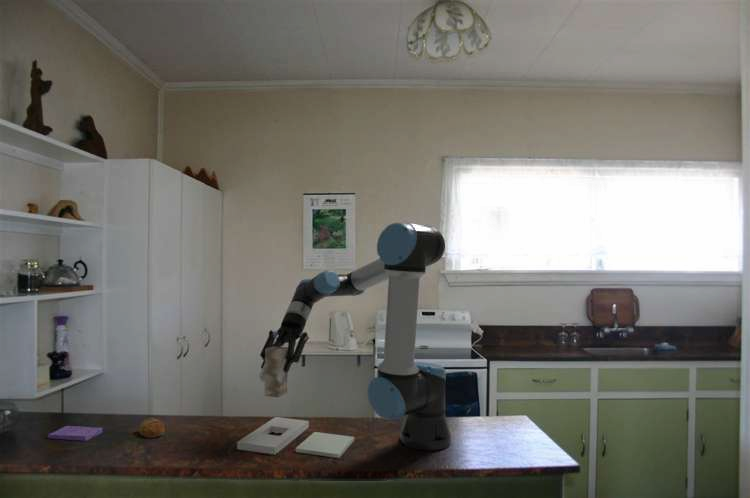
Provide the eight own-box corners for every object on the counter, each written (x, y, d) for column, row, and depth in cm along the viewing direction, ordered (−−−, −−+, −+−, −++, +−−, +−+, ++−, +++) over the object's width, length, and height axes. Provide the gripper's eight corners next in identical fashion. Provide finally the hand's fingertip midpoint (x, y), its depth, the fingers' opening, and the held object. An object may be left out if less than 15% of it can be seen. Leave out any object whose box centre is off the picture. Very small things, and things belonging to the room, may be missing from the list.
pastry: (169, 435, 136) (170, 422, 136) (146, 441, 131) (146, 428, 131) (158, 427, 142) (159, 415, 142) (135, 432, 137) (136, 420, 138)
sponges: (85, 442, 130) (86, 436, 130) (46, 440, 132) (47, 433, 132) (103, 433, 137) (103, 427, 137) (65, 431, 139) (66, 425, 139)
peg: (287, 393, 137) (287, 347, 138) (279, 397, 132) (280, 350, 133) (272, 391, 138) (273, 346, 139) (264, 396, 134) (265, 349, 134)
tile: (354, 440, 133) (354, 436, 133) (338, 458, 121) (338, 454, 121) (314, 435, 137) (314, 431, 137) (295, 451, 125) (295, 448, 125)
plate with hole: (308, 427, 144) (308, 421, 144) (275, 454, 122) (275, 447, 123) (275, 423, 147) (275, 417, 147) (237, 449, 126) (237, 441, 126)
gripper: (323, 326, 148) (301, 389, 132) (275, 324, 153) (248, 384, 137) (317, 312, 144) (293, 375, 127) (267, 310, 149) (238, 370, 132)
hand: (270, 379), depth 132 cm, fingers closed on peg, 5 cm apart
